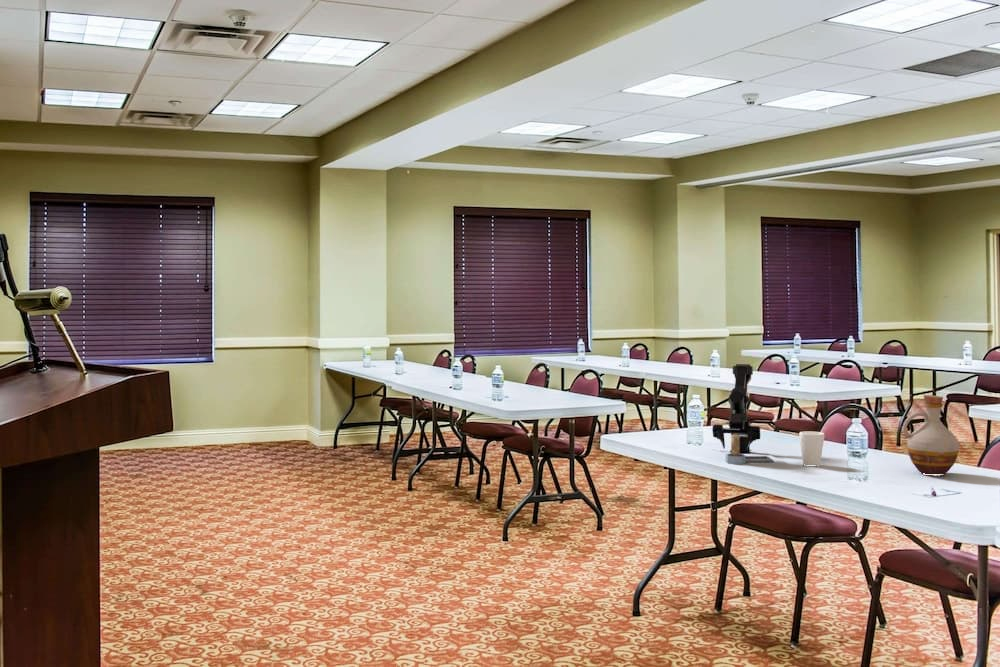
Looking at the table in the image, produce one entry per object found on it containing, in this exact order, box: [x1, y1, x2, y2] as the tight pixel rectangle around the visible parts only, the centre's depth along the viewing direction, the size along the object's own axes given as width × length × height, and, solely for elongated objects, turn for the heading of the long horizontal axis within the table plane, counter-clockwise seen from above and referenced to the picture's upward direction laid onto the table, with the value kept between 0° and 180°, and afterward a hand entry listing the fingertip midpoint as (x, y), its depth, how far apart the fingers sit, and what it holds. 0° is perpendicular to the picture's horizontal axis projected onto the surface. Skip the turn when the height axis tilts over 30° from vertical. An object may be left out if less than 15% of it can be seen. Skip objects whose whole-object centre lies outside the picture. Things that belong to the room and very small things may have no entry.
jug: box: [902, 394, 960, 475], centre depth 346 cm, size 20×18×30 cm
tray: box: [745, 455, 775, 464], centre depth 373 cm, size 10×11×2 cm
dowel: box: [730, 434, 741, 456], centre depth 368 cm, size 3×3×11 cm
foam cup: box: [798, 430, 825, 466], centre depth 366 cm, size 10×9×13 cm
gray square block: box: [725, 453, 746, 465], centre depth 369 cm, size 7×7×4 cm
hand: (735, 448), depth 367 cm, fingers open, 8 cm apart
